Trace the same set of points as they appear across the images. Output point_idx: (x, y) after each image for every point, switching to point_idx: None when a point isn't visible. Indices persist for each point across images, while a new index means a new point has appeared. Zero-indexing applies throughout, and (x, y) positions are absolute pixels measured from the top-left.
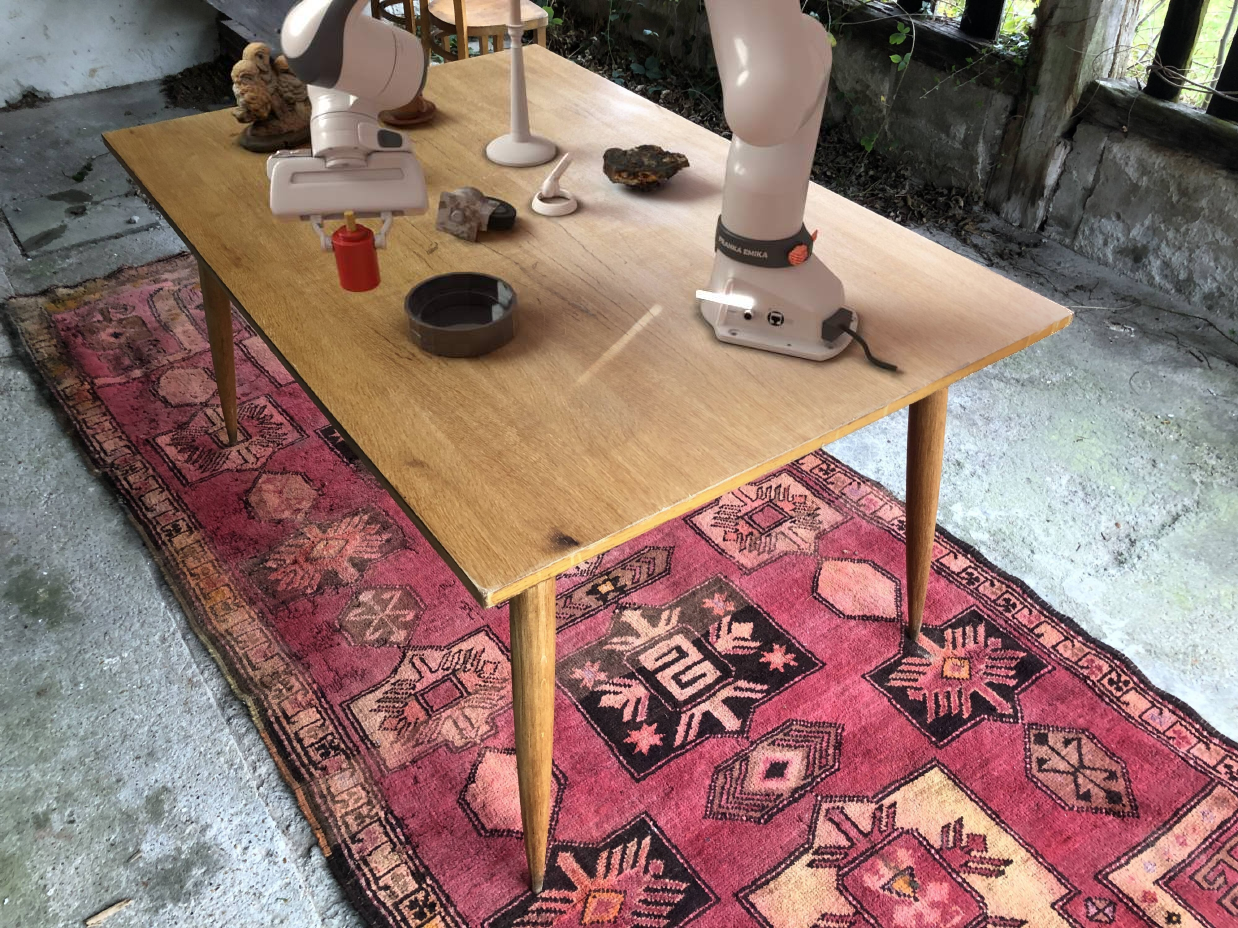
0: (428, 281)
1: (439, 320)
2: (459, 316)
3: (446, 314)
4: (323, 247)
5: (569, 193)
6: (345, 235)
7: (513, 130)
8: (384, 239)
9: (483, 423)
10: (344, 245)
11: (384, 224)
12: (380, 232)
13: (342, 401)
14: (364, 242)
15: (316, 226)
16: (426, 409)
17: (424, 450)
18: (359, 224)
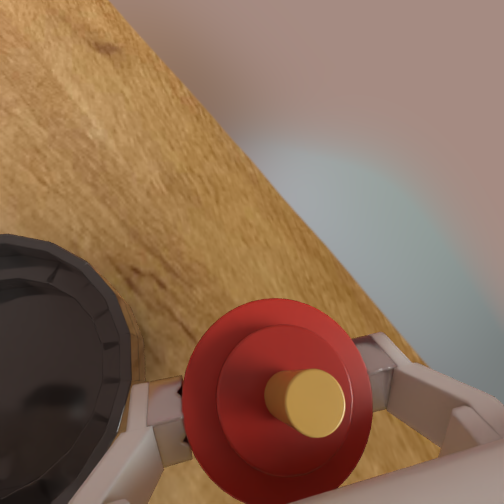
0: (65, 489)
1: (72, 398)
2: (20, 423)
3: (54, 430)
4: (376, 335)
5: None
6: (300, 332)
7: None
8: (132, 404)
9: (3, 111)
10: (291, 301)
11: (115, 474)
12: (146, 428)
13: (229, 161)
14: (212, 330)
15: (458, 391)
16: (96, 142)
17: (95, 67)
18: (263, 465)
